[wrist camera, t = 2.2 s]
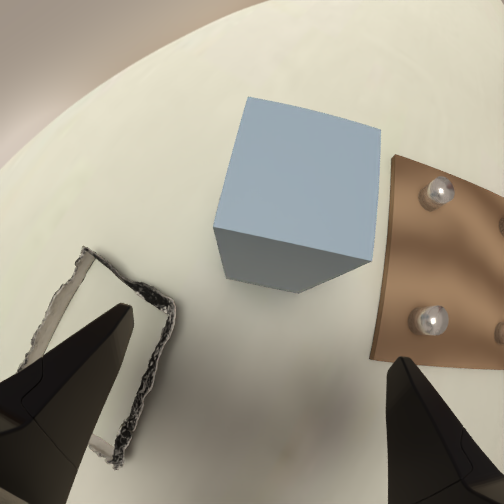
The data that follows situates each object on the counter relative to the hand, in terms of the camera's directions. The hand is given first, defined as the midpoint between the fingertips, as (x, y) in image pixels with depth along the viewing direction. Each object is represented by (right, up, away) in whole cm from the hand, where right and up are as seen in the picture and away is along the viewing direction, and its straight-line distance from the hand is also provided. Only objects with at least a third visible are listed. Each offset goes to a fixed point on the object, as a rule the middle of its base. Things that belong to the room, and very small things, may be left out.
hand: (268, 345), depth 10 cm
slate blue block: (+1, +3, +13) cm, 13 cm away
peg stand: (+17, +1, +13) cm, 22 cm away
